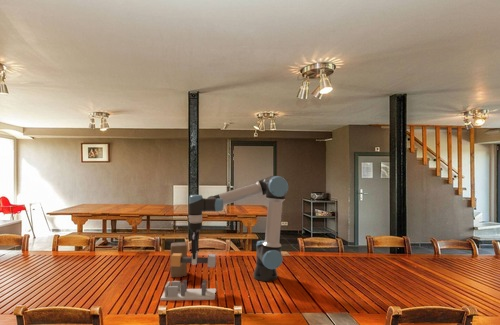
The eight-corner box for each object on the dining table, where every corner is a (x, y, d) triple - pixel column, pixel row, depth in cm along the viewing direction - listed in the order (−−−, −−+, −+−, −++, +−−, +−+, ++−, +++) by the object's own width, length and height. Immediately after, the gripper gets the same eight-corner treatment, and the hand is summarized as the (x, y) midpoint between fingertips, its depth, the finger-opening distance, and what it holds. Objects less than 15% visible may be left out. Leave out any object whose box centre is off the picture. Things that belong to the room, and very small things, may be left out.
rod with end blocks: (215, 264, 178) (215, 254, 178) (214, 267, 173) (214, 256, 173) (173, 263, 177) (173, 253, 177) (171, 266, 172) (171, 255, 172)
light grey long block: (215, 290, 173) (216, 277, 173) (214, 299, 161) (214, 285, 161) (165, 291, 172) (165, 278, 172) (160, 300, 160) (160, 286, 160)
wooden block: (170, 278, 193) (171, 246, 193) (170, 273, 202) (170, 242, 203) (186, 276, 195) (187, 245, 196) (185, 271, 205) (186, 241, 206)
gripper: (191, 219, 184) (190, 259, 183) (186, 224, 167) (185, 267, 167) (203, 219, 184) (203, 259, 183) (199, 224, 168) (199, 268, 167)
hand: (194, 263), depth 175 cm, fingers closed on rod with end blocks, 3 cm apart
